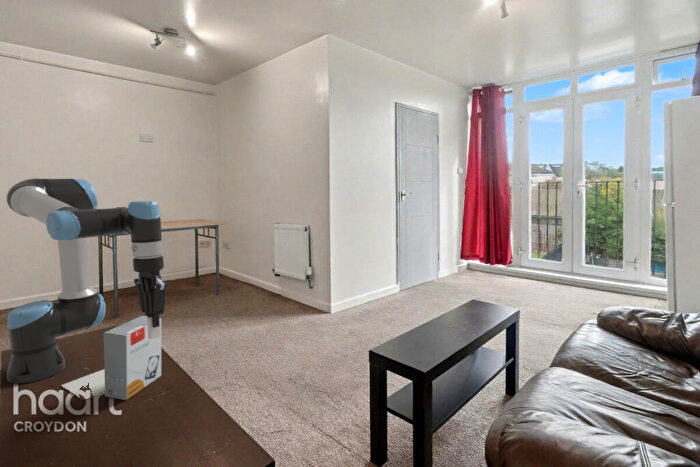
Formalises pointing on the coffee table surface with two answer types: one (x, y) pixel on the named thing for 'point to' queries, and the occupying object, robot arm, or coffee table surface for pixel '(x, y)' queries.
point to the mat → (94, 381)
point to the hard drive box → (130, 358)
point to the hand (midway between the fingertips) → (154, 337)
